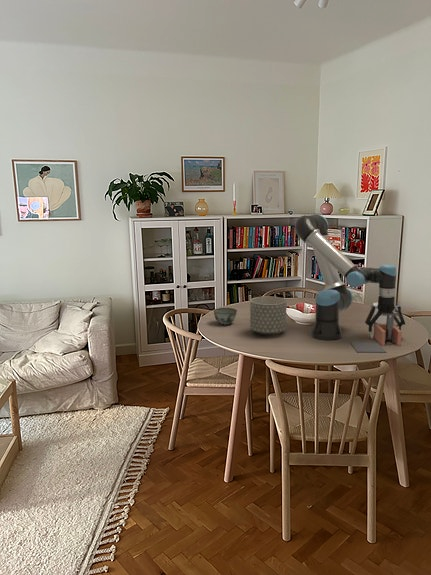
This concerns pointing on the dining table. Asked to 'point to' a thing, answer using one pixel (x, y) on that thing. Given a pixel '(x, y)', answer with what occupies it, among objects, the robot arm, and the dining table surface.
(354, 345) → the mat
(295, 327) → the dining table surface
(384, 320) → the cup
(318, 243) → the robot arm
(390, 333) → the stand
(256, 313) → the planter
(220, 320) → the bowl
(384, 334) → the c link
